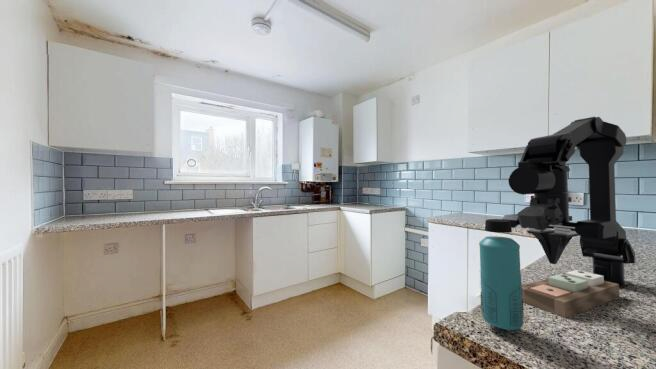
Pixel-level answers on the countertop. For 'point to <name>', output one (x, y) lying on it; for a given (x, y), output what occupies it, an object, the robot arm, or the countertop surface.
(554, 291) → the one dot button
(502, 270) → the beverage bottle
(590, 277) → the two dot button
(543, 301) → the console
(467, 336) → the countertop surface
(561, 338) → the countertop surface
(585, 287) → the three dot button
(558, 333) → the countertop surface
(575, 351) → the countertop surface
